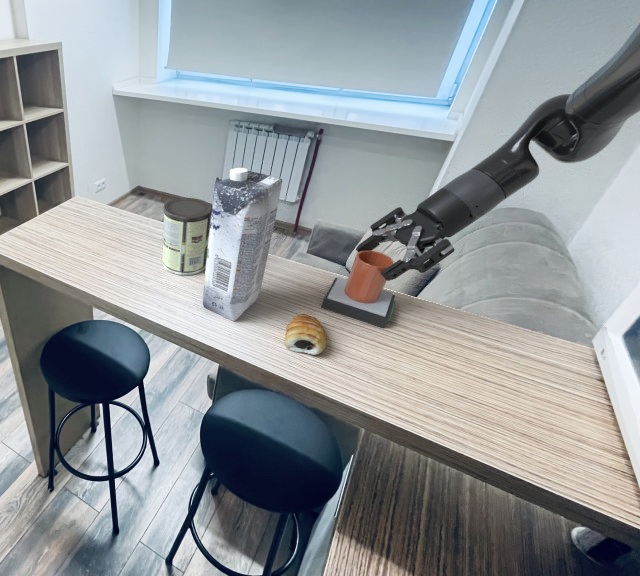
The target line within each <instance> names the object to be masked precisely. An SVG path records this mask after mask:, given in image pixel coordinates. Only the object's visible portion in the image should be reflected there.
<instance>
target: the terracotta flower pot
mask: <svg viewBox="0 0 640 576" xmlns="http://www.w3.org/2000/svg"><path fill="white" fill-rule="evenodd" d="M394 263H395V262H394V260H393V259H392V258H391V257H390V256H389V255H387V254H385V253H383V252H379V251H375V250H372V251H367V250H366V251H360V252H357V253H356V255H355V258H354V260H353V263H352V266H351V269H350V271H349V273H348V274H349V275H348V278H347V279H348V280H347V283H346V286H345V289H344V292H345V294H346V295H347V296H348V297H349V298H350V299H352V300H354V301H357V302H360V303H374V302H376V301H378V299H379V297H380V295H381V293H382V290H384V288H385V286H386V283H387V282H388V281H387V280H386V279H385V278H384V277H383V276H382V275H381V272H382V271H383V270H385V269H386V268H388V267H389V266H391V265H392V264H394Z"/></svg>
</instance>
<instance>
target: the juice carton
mask: <svg viewBox="0 0 640 576" xmlns="http://www.w3.org/2000/svg"><path fill="white" fill-rule="evenodd" d="M282 185H283V179H282V178H280V177H277V176H272V175H268V174H265V173H261V172H256V171H252V170H248V168H244V167H235V168H231V169H230V170H229V177H228V178H225V179H221V180H219V181H217V182H215V183H214V187H213V199H212V213H211V220H210V230H209V239H208V249H207V259H206V267H205V273H204V280H203V282H204V283H203V291H202V292H203V294H202V306H203V308H204V309H207V310H209V311H211V312H213V313H215V314H217V315H219V316H222V317H224V318H225V319H228V320H229V321H232V322H235V321H237V320H238V319H239V318H240V317H241V316H242V315H243V314H244V313H245V312H246V310H248V309H249V308H250V307H252V306H253V305H254V304H255V303H256V301H257V300H258V297H259V295H260V293H261V289H262V288H261V287H262V284H263V280H264V275H265V271H266V266H267V261H268V255H269V251H270V247H271V242H272V236H273V232H274V226H275V223H276V218H277V214H278V207H279V203H280V198H281V197H280V196H281V191H282Z"/></svg>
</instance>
